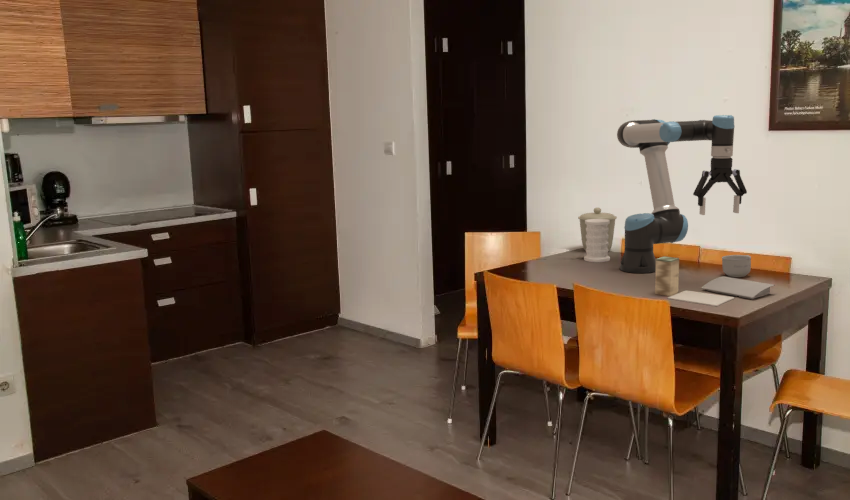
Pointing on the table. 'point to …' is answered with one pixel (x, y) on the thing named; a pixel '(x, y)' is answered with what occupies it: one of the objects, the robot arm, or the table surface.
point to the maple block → (667, 276)
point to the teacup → (736, 265)
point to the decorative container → (597, 240)
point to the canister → (597, 216)
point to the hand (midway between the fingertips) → (719, 213)
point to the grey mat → (701, 298)
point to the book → (738, 287)
